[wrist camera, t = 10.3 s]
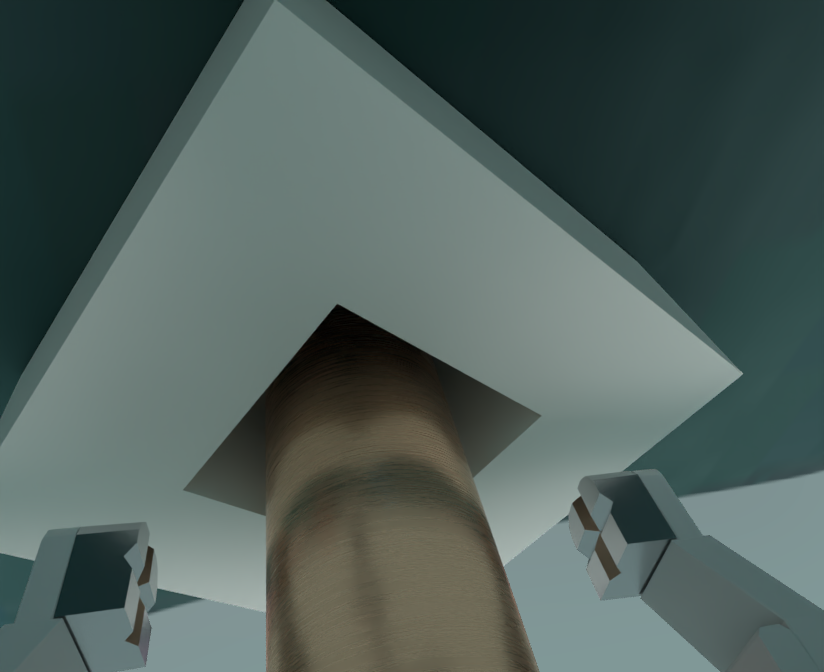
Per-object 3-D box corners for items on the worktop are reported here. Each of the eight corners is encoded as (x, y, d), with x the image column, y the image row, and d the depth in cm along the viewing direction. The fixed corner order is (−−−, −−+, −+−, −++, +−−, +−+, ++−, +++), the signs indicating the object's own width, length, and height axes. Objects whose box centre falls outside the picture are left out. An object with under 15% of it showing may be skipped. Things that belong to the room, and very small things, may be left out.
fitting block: (20, 376, 16) (-58, 539, 12) (271, -46, 12) (274, -1, 8) (381, 506, 22) (406, 643, 18) (637, 261, 18) (743, 373, 14)
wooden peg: (236, 335, 17) (201, 946, 7) (321, 223, 15) (416, 807, 6) (355, 391, 19) (449, 925, 9) (440, 297, 17) (656, 820, 8)
